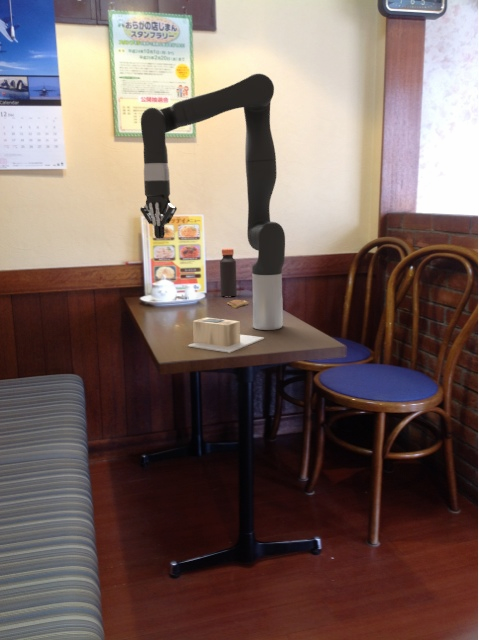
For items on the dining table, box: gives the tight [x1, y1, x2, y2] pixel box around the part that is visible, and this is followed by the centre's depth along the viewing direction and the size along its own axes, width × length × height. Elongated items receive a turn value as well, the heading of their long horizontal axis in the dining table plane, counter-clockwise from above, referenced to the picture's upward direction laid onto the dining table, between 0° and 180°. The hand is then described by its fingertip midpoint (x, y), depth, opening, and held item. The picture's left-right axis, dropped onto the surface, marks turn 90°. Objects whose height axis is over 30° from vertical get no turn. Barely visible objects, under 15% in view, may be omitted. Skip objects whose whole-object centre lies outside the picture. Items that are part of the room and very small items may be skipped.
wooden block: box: [192, 317, 241, 347], centre depth 161 cm, size 6×6×12 cm
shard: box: [226, 299, 250, 309], centre depth 222 cm, size 11×8×2 cm
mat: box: [187, 333, 265, 354], centre depth 162 cm, size 18×14×1 cm
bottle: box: [219, 248, 238, 297], centre depth 242 cm, size 7×7×20 cm
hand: (159, 238), depth 173 cm, fingers closed
